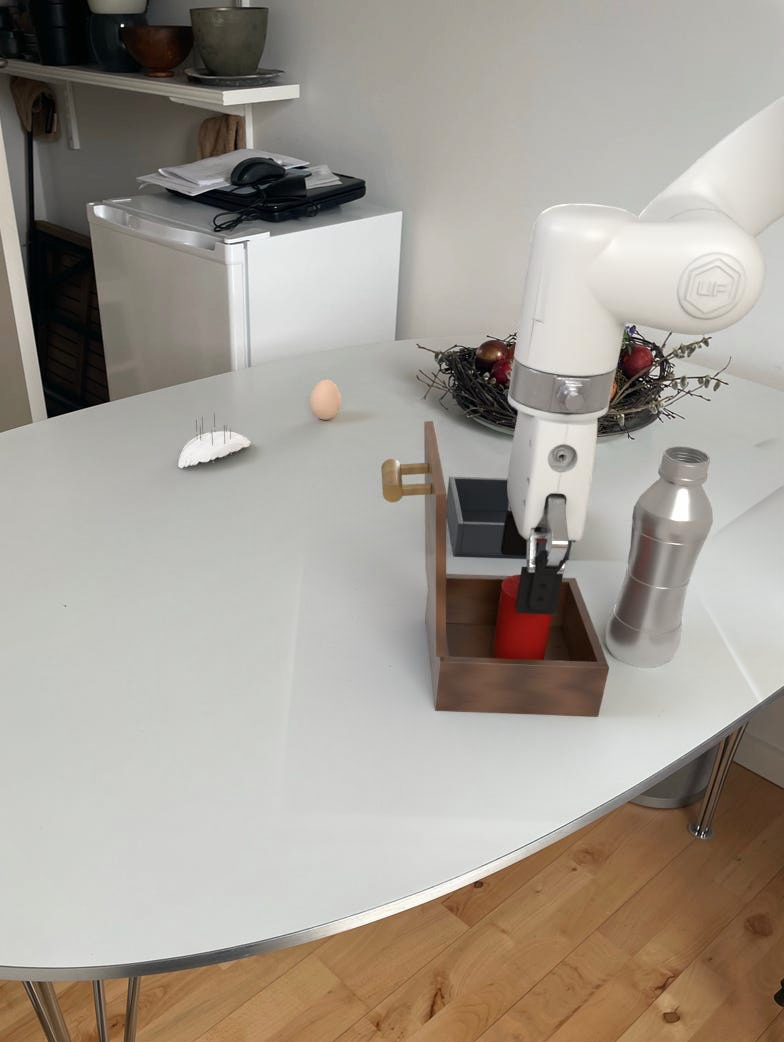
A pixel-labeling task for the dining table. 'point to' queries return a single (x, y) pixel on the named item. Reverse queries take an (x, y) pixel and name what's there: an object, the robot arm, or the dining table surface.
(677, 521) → the silver metal bottle
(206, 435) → the pincushion
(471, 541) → the bin
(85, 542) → the dining table surface
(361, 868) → the dining table surface
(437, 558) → the lid
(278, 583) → the dining table surface
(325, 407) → the egg
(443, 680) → the chest
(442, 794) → the dining table surface
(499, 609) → the red cylinder
